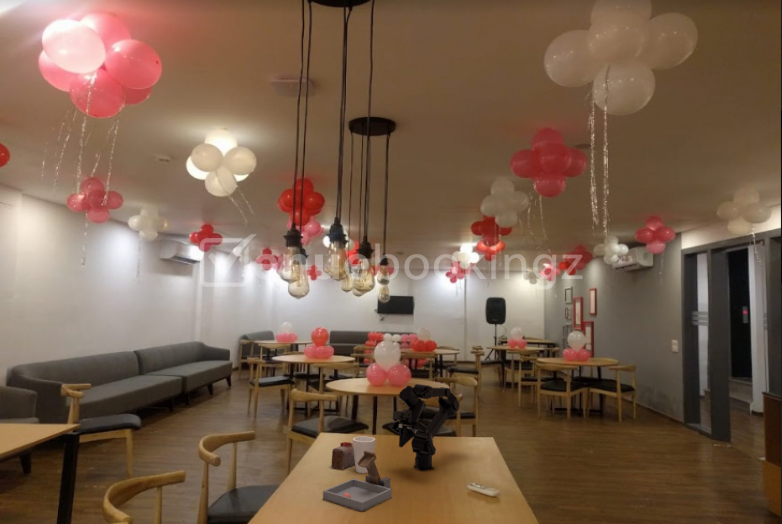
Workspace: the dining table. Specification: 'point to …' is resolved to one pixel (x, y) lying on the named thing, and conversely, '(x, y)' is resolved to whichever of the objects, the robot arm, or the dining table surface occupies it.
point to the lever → (370, 466)
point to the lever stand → (380, 481)
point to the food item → (343, 456)
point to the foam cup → (362, 450)
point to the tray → (357, 494)
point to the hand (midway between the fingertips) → (400, 446)
